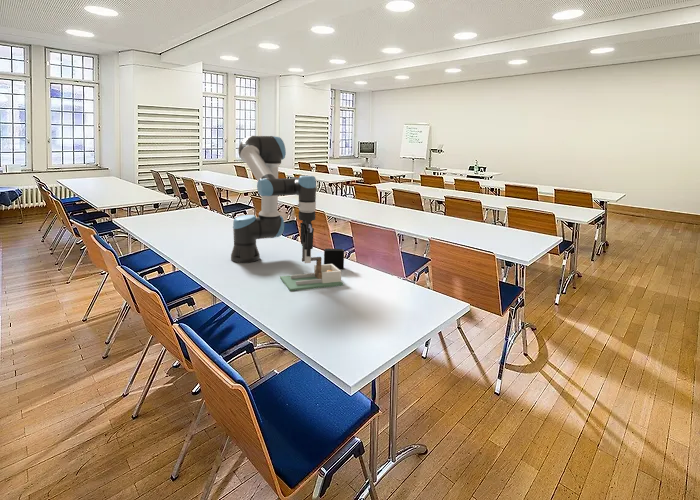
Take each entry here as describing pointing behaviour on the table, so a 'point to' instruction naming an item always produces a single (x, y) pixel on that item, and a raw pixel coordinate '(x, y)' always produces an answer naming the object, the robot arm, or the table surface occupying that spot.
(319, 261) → the striker
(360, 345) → the table surface
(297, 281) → the pitch
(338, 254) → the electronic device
